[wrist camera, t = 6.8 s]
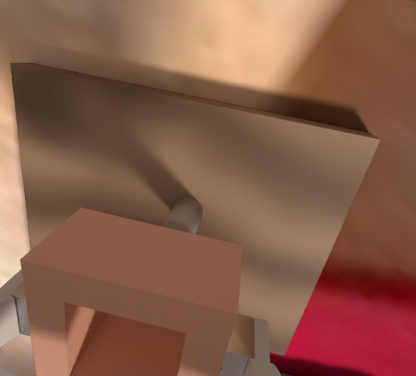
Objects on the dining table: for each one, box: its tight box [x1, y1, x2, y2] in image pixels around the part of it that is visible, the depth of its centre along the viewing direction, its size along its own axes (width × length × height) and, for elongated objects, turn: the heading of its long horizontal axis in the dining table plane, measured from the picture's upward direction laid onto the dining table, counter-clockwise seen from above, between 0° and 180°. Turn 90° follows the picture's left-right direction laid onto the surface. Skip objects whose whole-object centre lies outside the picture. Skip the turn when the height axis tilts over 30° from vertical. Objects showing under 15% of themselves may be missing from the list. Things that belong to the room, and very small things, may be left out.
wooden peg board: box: [10, 63, 380, 356], centre depth 17 cm, size 17×20×8 cm
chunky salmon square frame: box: [20, 208, 243, 376], centre depth 10 cm, size 6×6×3 cm
